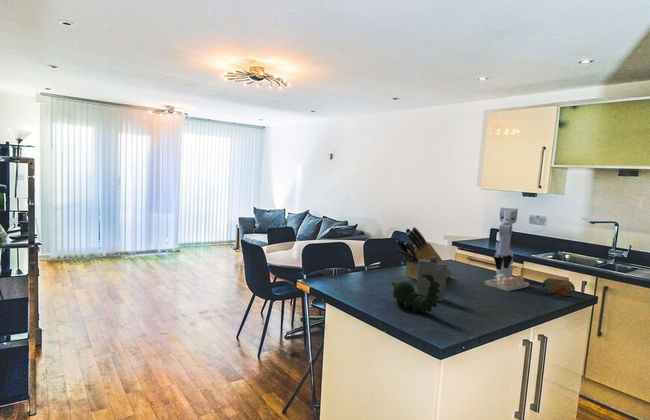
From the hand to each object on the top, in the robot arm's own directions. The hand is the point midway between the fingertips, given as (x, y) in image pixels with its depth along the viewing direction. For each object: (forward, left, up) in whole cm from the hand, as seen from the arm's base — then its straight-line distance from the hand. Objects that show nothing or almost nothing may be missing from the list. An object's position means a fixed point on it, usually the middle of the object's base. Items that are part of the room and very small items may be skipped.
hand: (502, 268), depth 223 cm
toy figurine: (+81, +7, -10) cm, 82 cm away
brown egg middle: (0, +7, -9) cm, 11 cm away
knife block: (+32, -30, -10) cm, 45 cm away
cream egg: (0, 0, -9) cm, 9 cm away
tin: (-12, +26, -10) cm, 30 cm away
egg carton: (0, +4, -9) cm, 10 cm away
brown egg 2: (-7, +7, -9) cm, 13 cm away
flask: (+58, -2, -10) cm, 59 cm away
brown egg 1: (+7, +7, -9) cm, 13 cm away
